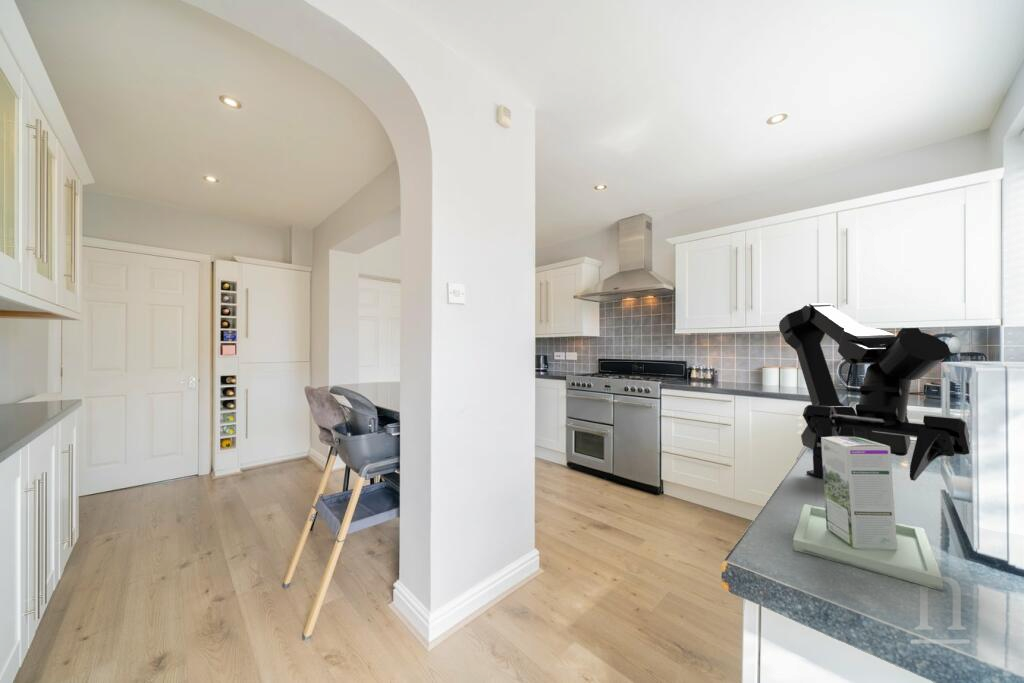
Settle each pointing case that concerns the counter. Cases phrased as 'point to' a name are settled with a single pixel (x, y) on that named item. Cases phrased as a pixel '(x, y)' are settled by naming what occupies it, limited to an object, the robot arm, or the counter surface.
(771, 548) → the counter surface
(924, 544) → the tray
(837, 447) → the syrup box
